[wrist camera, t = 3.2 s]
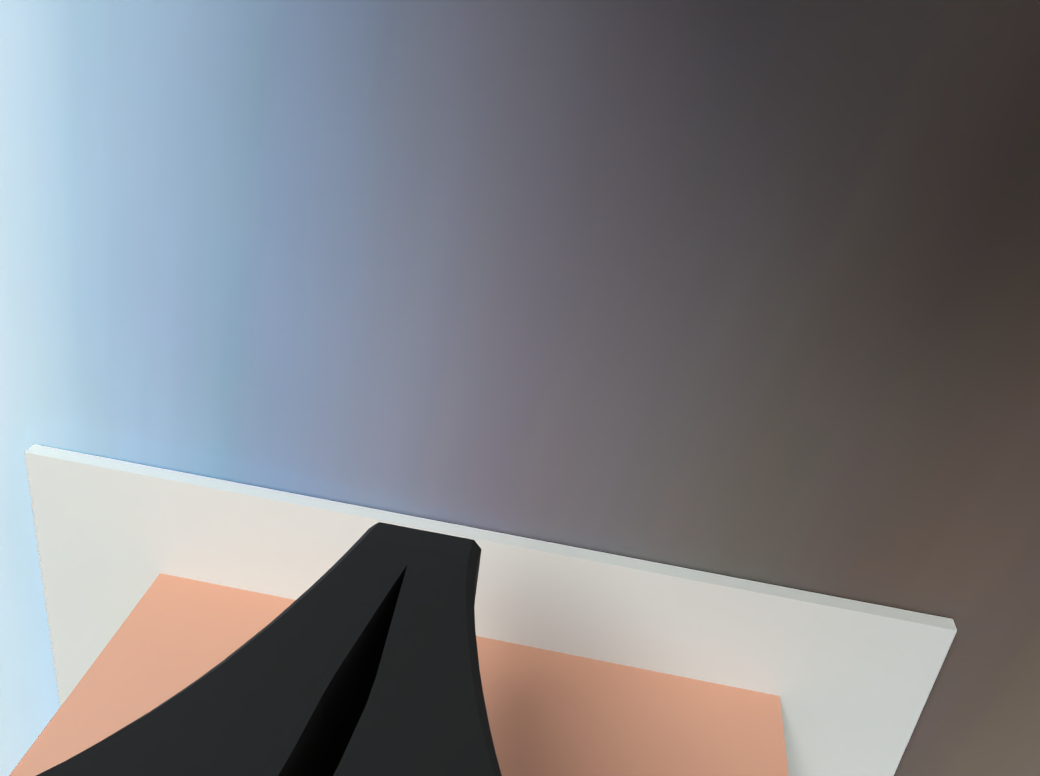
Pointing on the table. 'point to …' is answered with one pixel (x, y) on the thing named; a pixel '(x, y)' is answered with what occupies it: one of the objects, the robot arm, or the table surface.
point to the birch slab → (505, 682)
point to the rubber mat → (491, 599)
